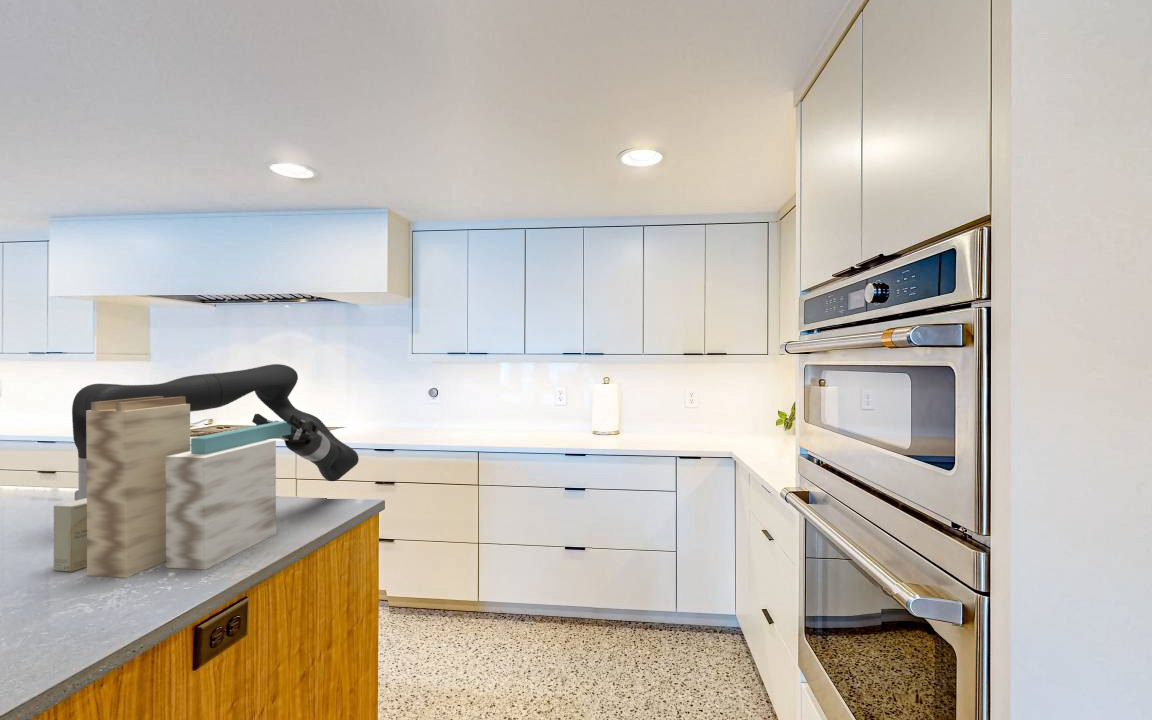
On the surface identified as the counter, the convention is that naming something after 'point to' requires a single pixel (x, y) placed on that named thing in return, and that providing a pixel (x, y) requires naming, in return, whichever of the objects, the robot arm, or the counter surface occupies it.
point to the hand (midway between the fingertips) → (272, 417)
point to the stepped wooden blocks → (169, 491)
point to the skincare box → (70, 535)
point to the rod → (238, 437)
